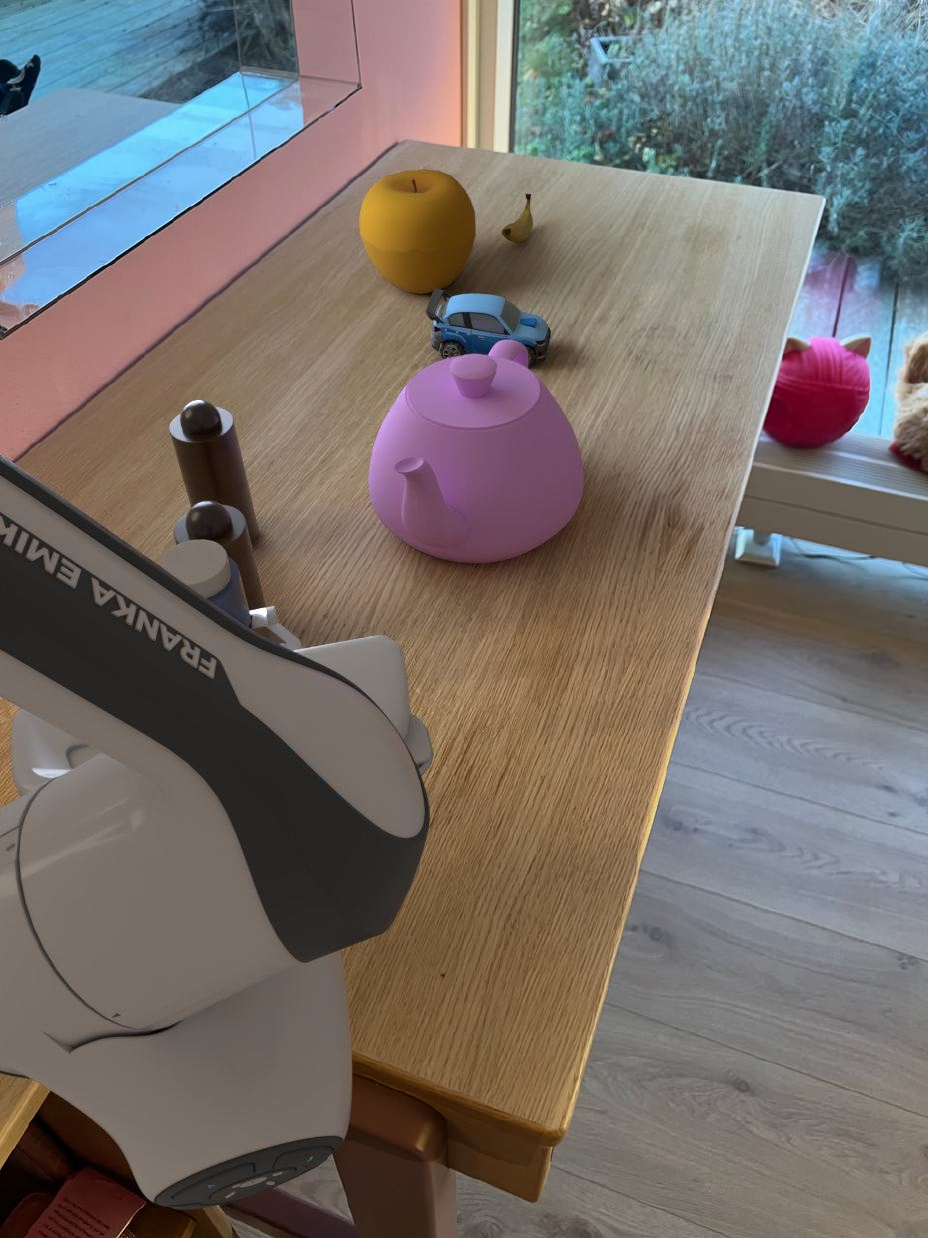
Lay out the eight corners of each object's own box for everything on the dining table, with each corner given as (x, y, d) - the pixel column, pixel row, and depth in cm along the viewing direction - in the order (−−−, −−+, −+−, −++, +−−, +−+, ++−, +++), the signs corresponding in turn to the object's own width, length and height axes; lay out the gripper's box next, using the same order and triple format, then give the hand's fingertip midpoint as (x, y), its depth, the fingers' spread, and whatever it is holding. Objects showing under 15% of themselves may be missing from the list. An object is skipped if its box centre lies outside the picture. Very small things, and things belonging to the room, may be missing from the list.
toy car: (545, 371, 100) (547, 319, 95) (427, 363, 101) (424, 312, 97) (551, 341, 104) (553, 289, 100) (438, 334, 105) (435, 283, 101)
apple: (345, 295, 112) (332, 192, 104) (396, 246, 120) (389, 147, 112) (450, 316, 108) (445, 210, 100) (496, 264, 116) (495, 162, 108)
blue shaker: (186, 723, 61) (132, 575, 52) (229, 674, 63) (185, 525, 55) (245, 748, 59) (200, 600, 51) (287, 697, 62) (251, 548, 53)
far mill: (188, 544, 82) (149, 412, 73) (223, 510, 85) (190, 379, 76) (236, 561, 81) (202, 428, 72) (270, 526, 84) (241, 394, 75)
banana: (517, 262, 116) (517, 228, 113) (497, 260, 117) (497, 226, 114) (538, 225, 123) (539, 192, 120) (519, 223, 124) (519, 191, 121)
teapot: (429, 415, 95) (421, 278, 85) (612, 450, 90) (625, 309, 80) (310, 587, 78) (283, 443, 69) (526, 641, 74) (530, 494, 64)
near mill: (194, 651, 74) (151, 516, 65) (233, 610, 77) (197, 475, 68) (247, 672, 72) (211, 537, 63) (285, 629, 75) (255, 494, 66)
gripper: (438, 741, 47) (387, 552, 56) (-17, 832, 44) (11, 617, 54) (444, 817, 51) (396, 630, 61) (31, 904, 48) (49, 693, 58)
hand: (213, 624), depth 57 cm, fingers closed on blue shaker, 4 cm apart
